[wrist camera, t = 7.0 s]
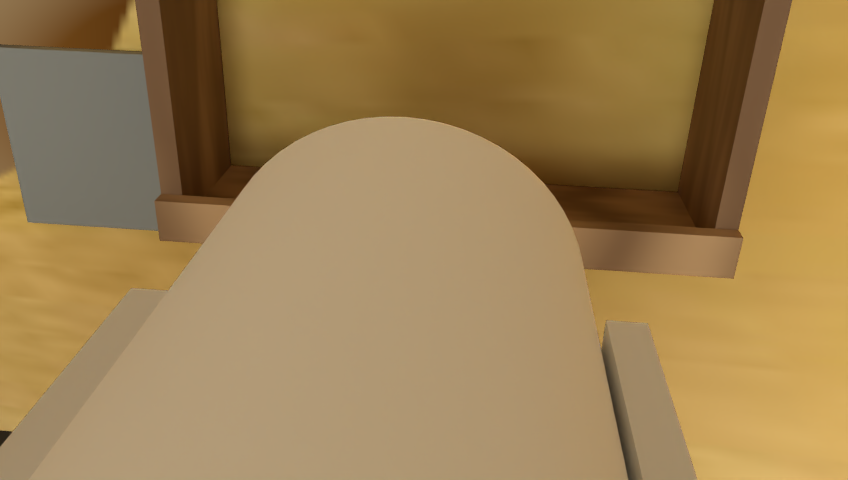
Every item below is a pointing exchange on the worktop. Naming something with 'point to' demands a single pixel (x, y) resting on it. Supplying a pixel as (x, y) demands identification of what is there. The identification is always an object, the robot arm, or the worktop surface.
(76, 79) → the panel
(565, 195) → the crate
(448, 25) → the worktop surface
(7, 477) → the robot arm
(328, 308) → the cup
